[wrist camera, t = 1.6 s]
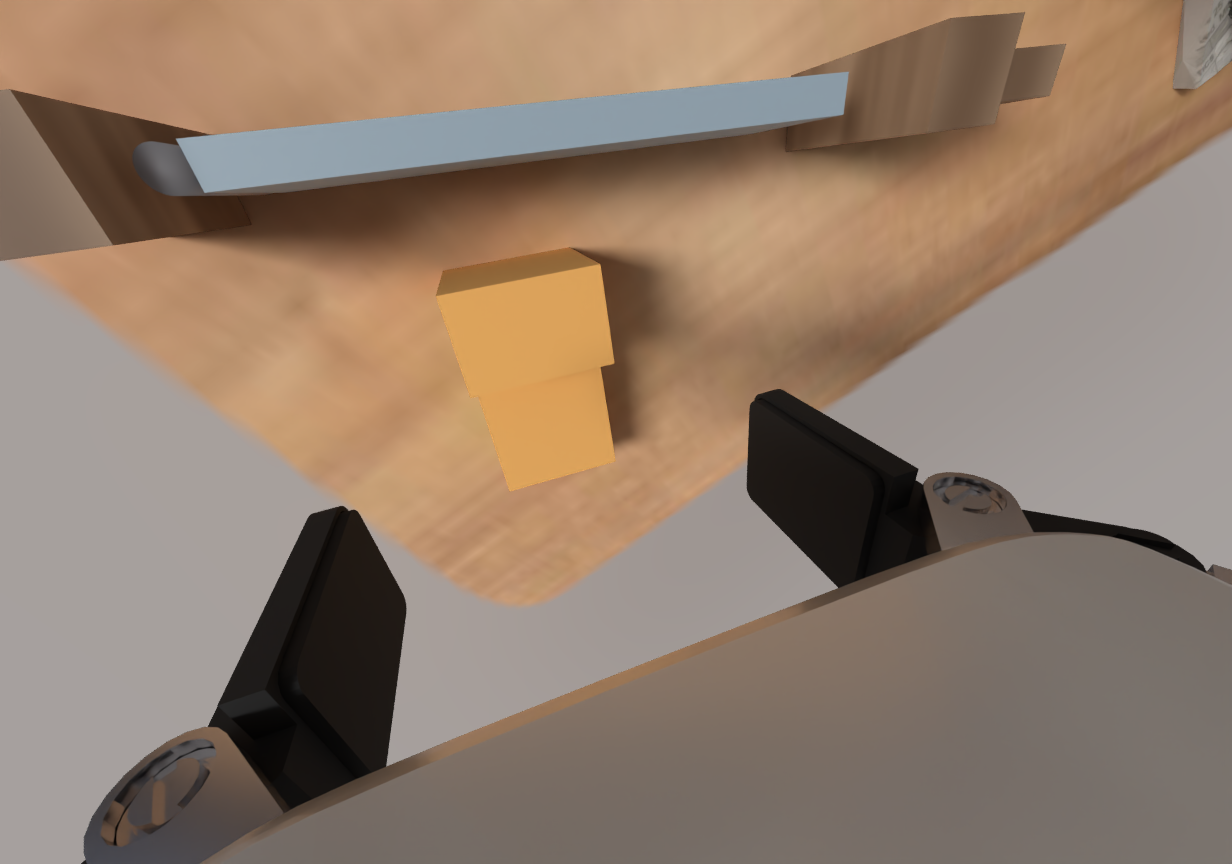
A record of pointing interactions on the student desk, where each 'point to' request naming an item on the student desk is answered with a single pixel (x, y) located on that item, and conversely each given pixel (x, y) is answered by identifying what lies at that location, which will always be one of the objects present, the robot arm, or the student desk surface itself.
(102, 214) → the wooden posts
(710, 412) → the student desk surface
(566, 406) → the orange stepped block
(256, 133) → the gate door
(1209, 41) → the packaged product
